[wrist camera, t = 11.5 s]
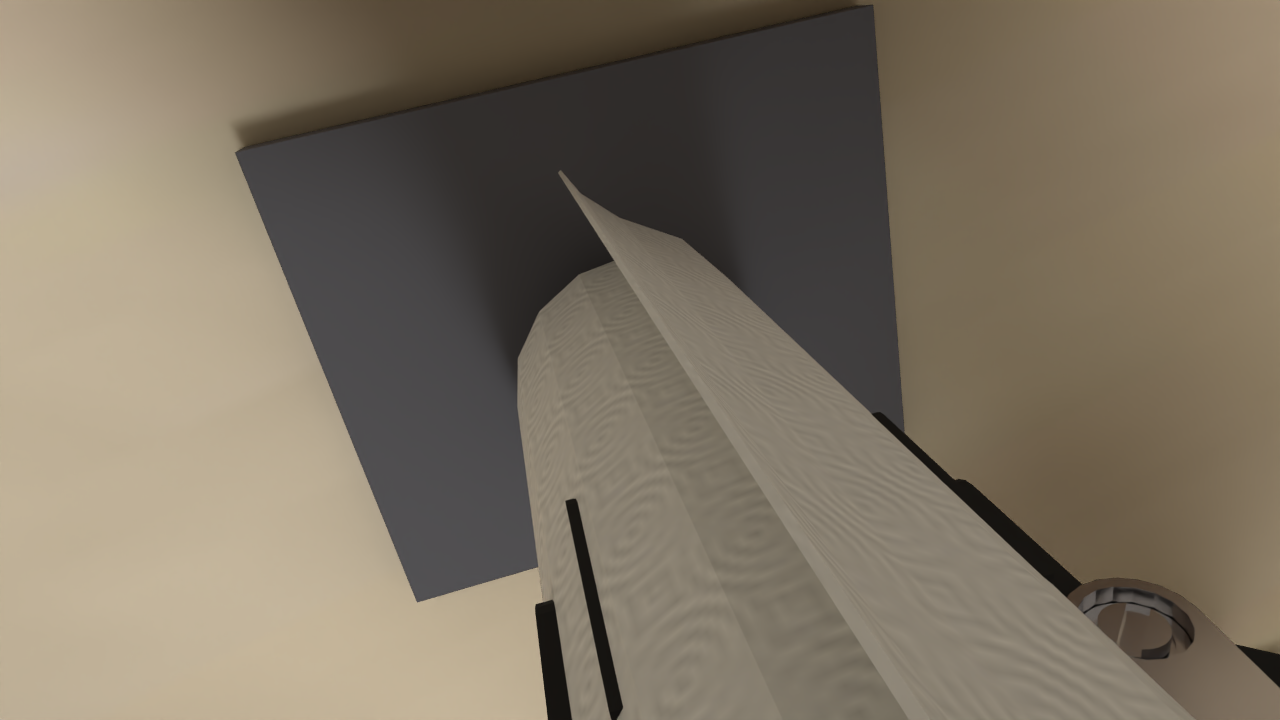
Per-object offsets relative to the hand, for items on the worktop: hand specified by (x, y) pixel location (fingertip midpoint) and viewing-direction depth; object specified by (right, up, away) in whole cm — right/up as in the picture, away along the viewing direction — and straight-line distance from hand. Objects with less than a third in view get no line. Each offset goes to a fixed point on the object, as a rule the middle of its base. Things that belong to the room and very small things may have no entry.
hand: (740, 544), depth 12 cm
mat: (-2, +4, +9) cm, 10 cm away
